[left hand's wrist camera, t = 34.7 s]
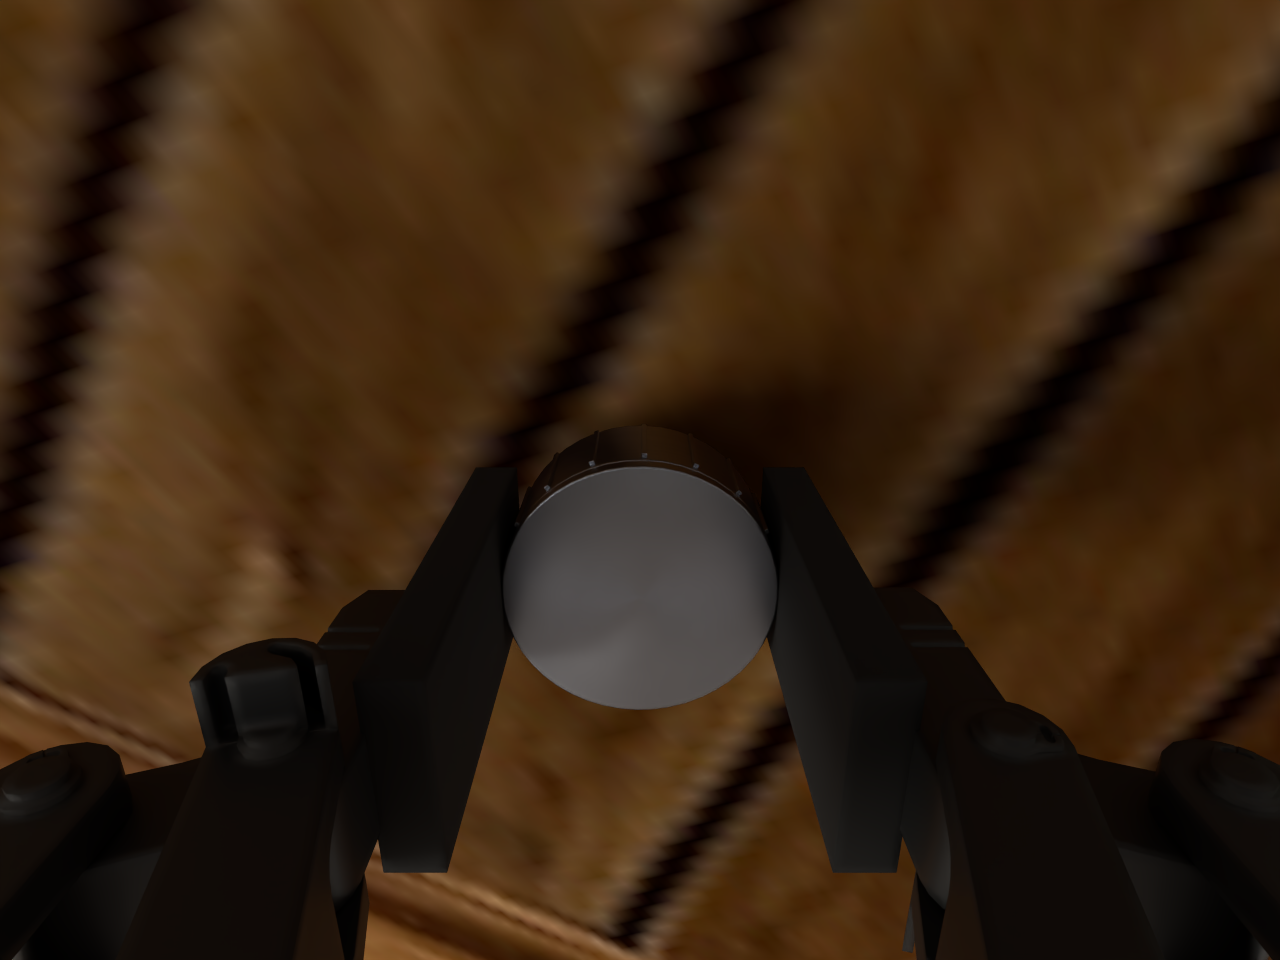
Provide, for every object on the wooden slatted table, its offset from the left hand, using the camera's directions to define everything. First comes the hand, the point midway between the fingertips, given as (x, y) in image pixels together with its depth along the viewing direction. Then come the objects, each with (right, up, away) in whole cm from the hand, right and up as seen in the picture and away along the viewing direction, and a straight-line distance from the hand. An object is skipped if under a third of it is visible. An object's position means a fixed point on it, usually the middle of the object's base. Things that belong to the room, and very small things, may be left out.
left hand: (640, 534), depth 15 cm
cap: (0, -1, -2) cm, 2 cm away
